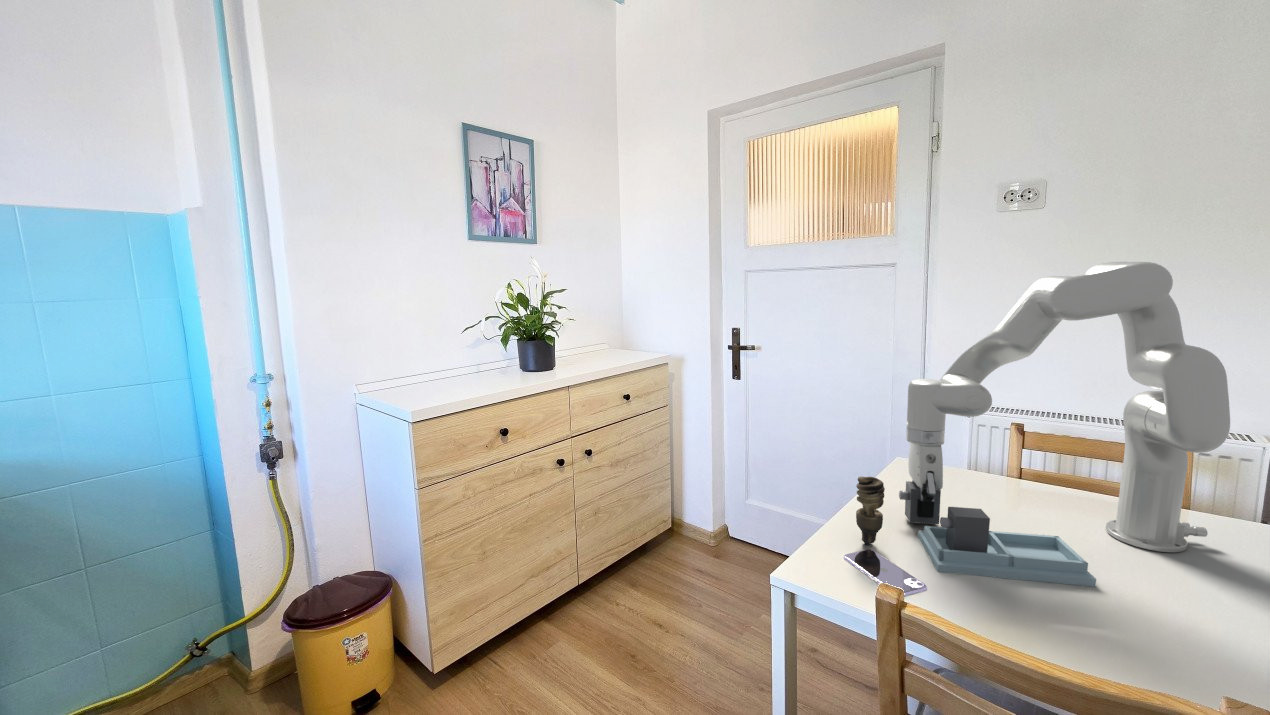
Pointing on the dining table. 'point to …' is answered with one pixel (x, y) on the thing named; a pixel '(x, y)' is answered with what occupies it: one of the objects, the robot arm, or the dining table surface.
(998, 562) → the tray
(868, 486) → the light bulb
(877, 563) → the mobile phone
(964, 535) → the docked twin block
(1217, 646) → the dining table surface
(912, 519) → the plug block
